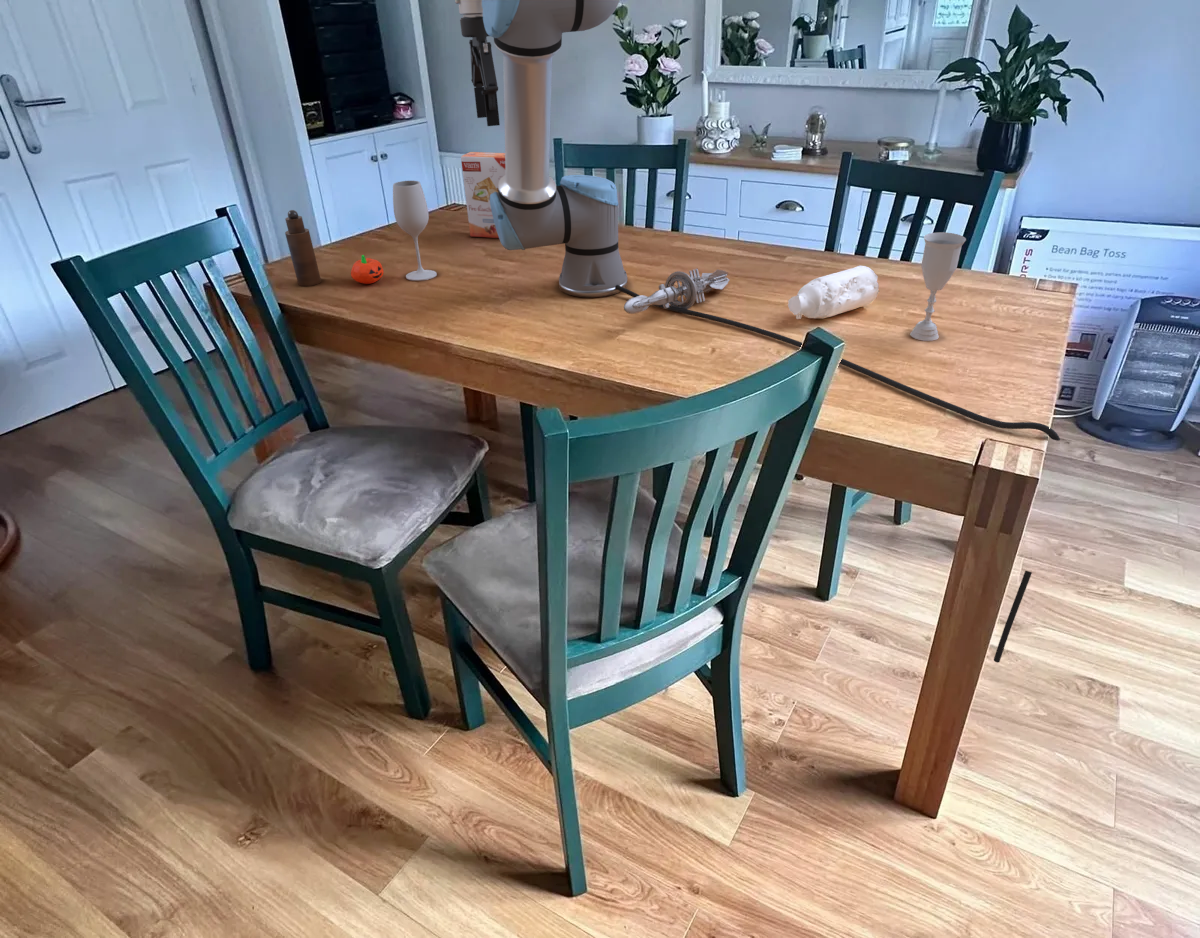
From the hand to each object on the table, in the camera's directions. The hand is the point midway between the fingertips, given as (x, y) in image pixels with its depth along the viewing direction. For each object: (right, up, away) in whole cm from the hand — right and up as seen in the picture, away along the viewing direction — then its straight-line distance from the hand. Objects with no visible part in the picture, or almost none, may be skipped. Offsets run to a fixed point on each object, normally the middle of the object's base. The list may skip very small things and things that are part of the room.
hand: (488, 121), depth 179 cm
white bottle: (+72, -51, -26) cm, 92 cm away
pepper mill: (-42, -37, +2) cm, 56 cm away
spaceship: (+42, -49, -21) cm, 68 cm away
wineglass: (-16, -35, +3) cm, 39 cm away
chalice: (+86, -56, -36) cm, 109 cm away
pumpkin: (-28, -38, +1) cm, 47 cm away
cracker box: (-2, -18, +29) cm, 34 cm away
